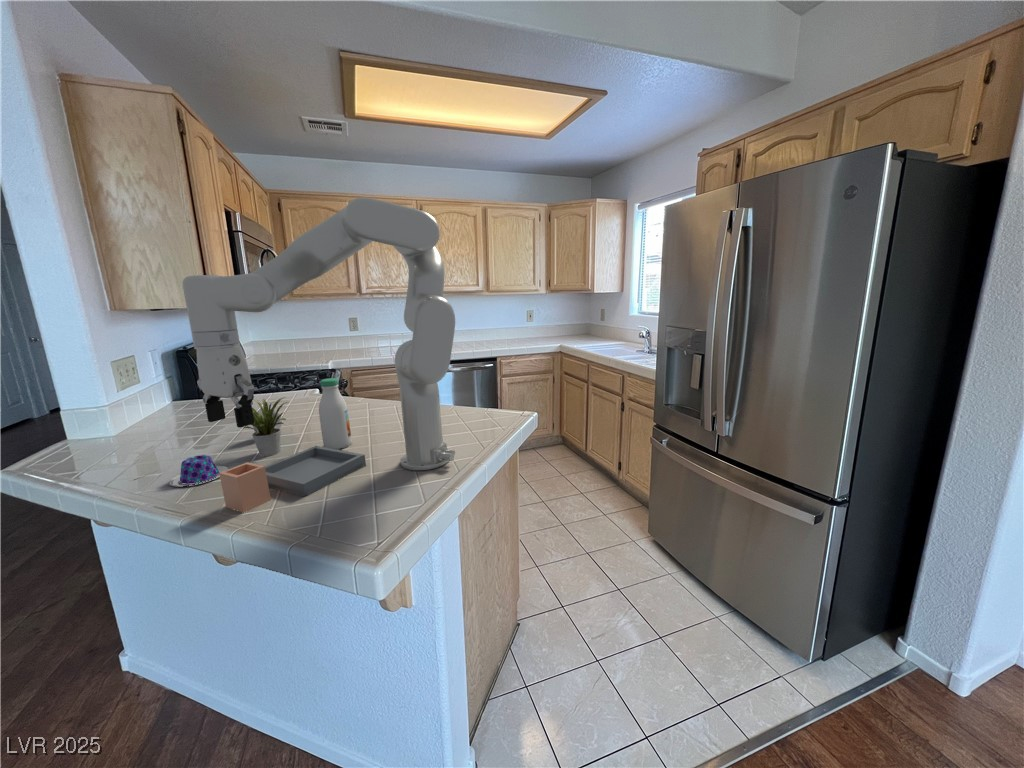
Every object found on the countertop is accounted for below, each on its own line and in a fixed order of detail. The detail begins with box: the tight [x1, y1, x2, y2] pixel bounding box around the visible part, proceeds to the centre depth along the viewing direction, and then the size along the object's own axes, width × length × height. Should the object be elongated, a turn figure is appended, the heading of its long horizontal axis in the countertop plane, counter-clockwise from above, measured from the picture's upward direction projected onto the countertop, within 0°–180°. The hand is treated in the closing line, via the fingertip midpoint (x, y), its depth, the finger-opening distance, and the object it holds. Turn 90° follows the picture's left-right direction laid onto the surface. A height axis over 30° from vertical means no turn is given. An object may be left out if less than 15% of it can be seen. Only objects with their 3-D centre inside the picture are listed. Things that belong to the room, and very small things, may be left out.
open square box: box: [218, 461, 272, 514], centre depth 90 cm, size 6×6×8 cm
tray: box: [264, 445, 367, 497], centre depth 105 cm, size 18×18×3 cm
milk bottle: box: [318, 377, 353, 450], centre depth 122 cm, size 8×8×20 cm
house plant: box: [242, 396, 289, 457], centre depth 120 cm, size 14×14×16 cm
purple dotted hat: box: [169, 454, 229, 488], centre depth 105 cm, size 12×12×5 cm
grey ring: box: [252, 405, 283, 433], centre depth 134 cm, size 10×4×10 cm, turn 165°
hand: (231, 422), depth 87 cm, fingers open, 9 cm apart
